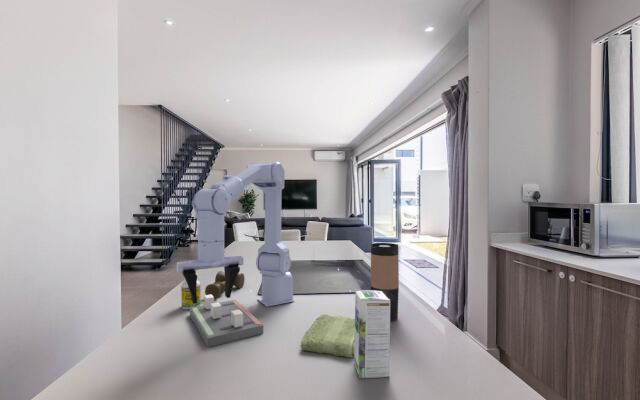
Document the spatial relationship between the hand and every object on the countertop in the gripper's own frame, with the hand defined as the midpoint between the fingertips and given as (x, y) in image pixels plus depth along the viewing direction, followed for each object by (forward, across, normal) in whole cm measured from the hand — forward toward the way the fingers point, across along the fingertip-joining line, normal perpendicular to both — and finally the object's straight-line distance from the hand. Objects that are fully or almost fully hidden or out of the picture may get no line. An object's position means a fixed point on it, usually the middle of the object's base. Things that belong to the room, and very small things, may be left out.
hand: (211, 299), depth 71 cm
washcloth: (+10, +25, -14) cm, 30 cm away
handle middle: (+7, +3, +8) cm, 11 cm away
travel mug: (+10, +44, -11) cm, 46 cm away
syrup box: (+10, +23, -29) cm, 38 cm away
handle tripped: (+7, +6, 0) cm, 9 cm away
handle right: (+7, +3, +16) cm, 18 cm away
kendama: (+10, +13, +37) cm, 41 cm away
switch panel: (+9, +5, +8) cm, 13 cm away
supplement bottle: (+10, 0, +26) cm, 28 cm away
